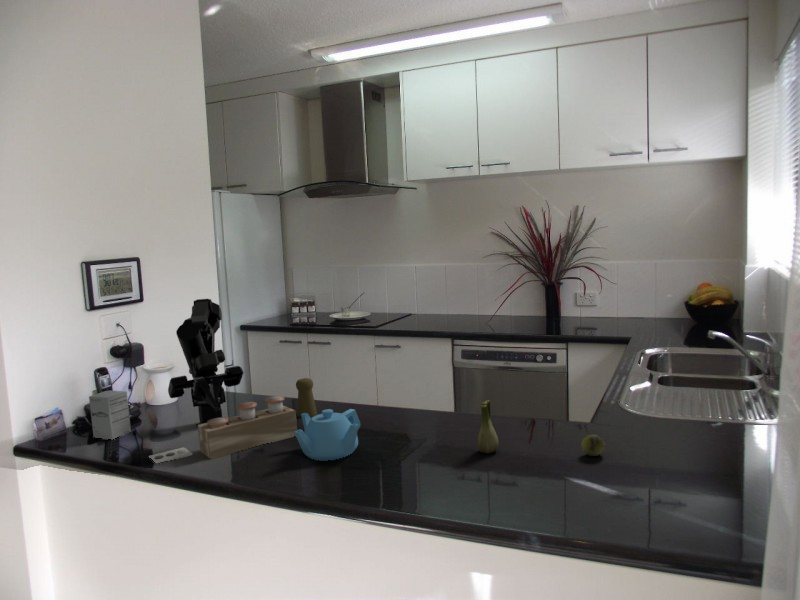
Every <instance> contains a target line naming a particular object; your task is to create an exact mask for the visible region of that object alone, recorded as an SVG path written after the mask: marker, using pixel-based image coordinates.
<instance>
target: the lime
mask: <svg viewBox="0 0 800 600" xmlns="http://www.w3.org/2000/svg"><path fill="white" fill-rule="evenodd" d="M580 443H581V444H580V445H581V446H580V447H581V448H582V450H583V453H585V454H586V455H587V456H589V457H596V456H597V457H598V456H599V455H601V454H602V453H603V451H604V450H605V448H606V447H605V446H606V444H605V441H604V439H603V438H602V437H601V436H599V435H597V434H589V435H587V436H586V437H584V438H583V439H582V440H581V442H580Z"/></svg>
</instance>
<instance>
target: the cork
mask: <svg viewBox="0 0 800 600" xmlns="http://www.w3.org/2000/svg"><path fill="white" fill-rule="evenodd" d="M313 381H314V380H313V379H312V378H308V377H307V378H306V377H305V378H300V379H297V381H296V382H295V387H296V389H297V391H298V392H297V405H296V406H297V411H296V417H297V418H302V417H301V414H303V413H307V414H308V415H309V416H311V417H314V416H316V415H318V410H317V407H316V402H315V396H314V393H313V390H312V389H313V388H314V382H313Z"/></svg>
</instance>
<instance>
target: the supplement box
mask: <svg viewBox="0 0 800 600" xmlns="http://www.w3.org/2000/svg"><path fill="white" fill-rule="evenodd" d="M88 399H89V409H90V418H91V426H92V434H93V438H94V437H95V438H102V439H101V440H108V439H111V440H110V441H113V439H114V440H116V439H115V438H117V437H119V436H121V435H124V434H126V433H129V432H132V429H131V428H132V426H131V419H130V418H131V417H130V411H129V410H130V409H129V400H128V392H127V390H126V391H124V390H123V391H122V390H105V391H101V392H99V393H96V394H92V395H89V396H88ZM129 434H130V433H129ZM124 436H125V435H124ZM119 438H120V437H119ZM117 439H118V438H117Z"/></svg>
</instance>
